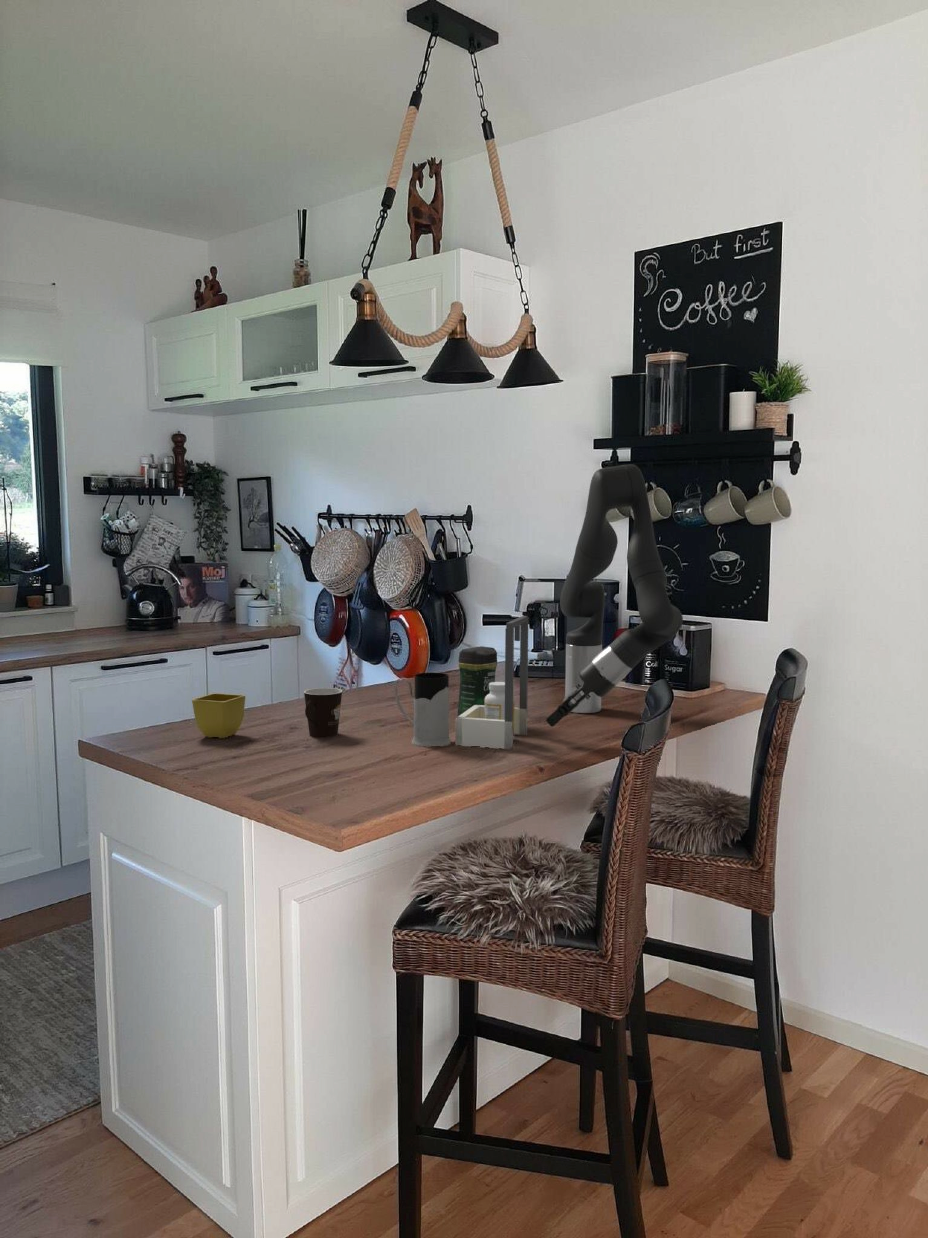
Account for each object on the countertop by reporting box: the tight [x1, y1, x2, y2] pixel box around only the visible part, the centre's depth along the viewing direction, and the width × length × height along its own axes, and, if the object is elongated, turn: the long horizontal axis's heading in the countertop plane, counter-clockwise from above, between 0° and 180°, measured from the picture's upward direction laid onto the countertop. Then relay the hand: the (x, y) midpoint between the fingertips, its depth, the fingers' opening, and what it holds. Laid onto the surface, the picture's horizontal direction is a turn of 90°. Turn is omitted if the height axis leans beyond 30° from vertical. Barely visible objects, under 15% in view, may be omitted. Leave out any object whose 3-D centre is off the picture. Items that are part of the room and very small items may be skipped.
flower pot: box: [191, 692, 246, 739], centre depth 219 cm, size 9×9×9 cm
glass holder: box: [393, 672, 452, 748], centre depth 215 cm, size 9×14×15 cm, turn 59°
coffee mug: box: [303, 687, 343, 739], centre depth 220 cm, size 12×9×10 cm
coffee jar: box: [456, 646, 498, 718], centre depth 234 cm, size 10×8×19 cm
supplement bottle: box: [485, 681, 515, 740], centre depth 216 cm, size 7×7×13 cm
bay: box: [454, 615, 529, 750], centre depth 216 cm, size 16×12×27 cm
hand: (549, 723), depth 213 cm, fingers closed
